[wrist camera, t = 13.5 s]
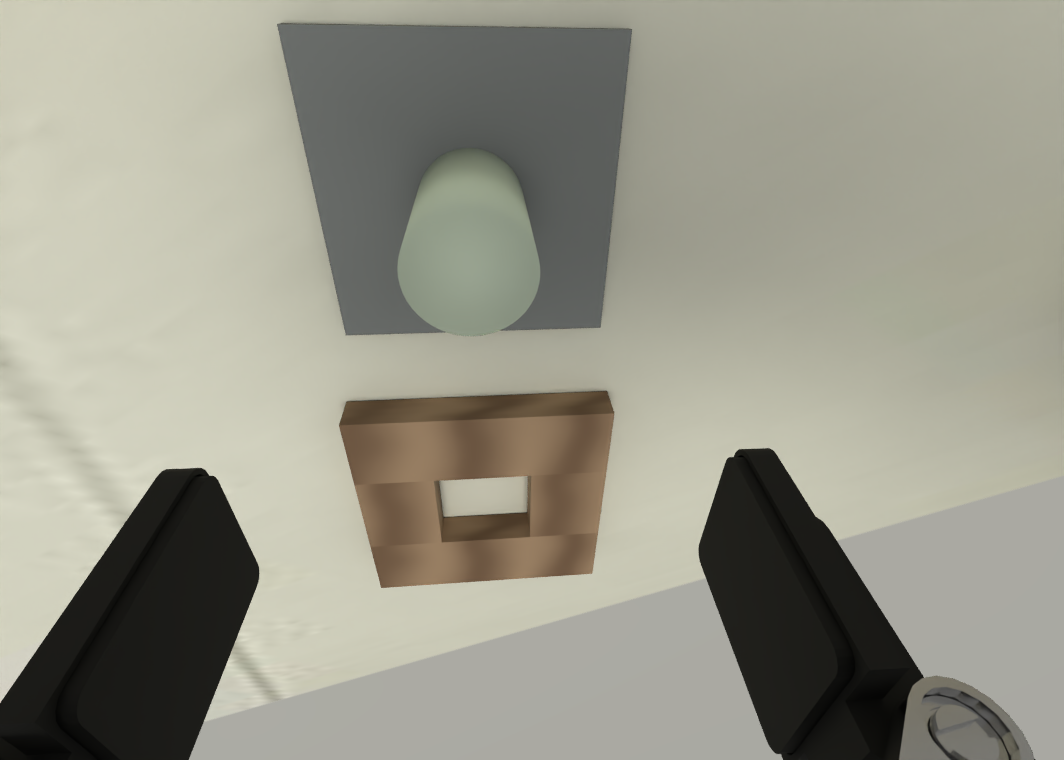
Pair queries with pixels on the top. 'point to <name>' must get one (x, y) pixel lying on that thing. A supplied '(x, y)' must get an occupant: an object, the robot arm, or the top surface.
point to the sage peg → (469, 246)
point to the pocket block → (470, 453)
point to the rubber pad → (452, 123)
